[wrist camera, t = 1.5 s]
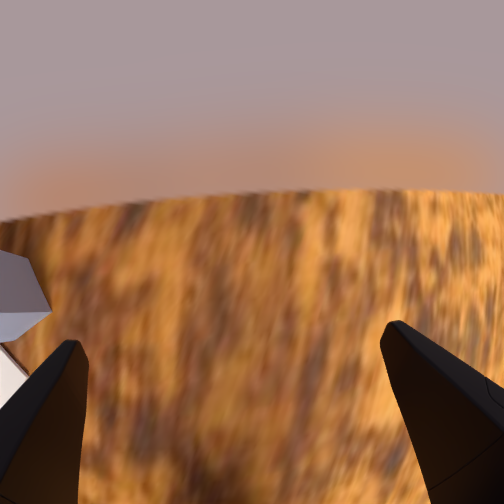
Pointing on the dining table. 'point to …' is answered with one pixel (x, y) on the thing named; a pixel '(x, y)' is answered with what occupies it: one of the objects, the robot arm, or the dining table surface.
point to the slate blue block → (19, 297)
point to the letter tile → (9, 376)
